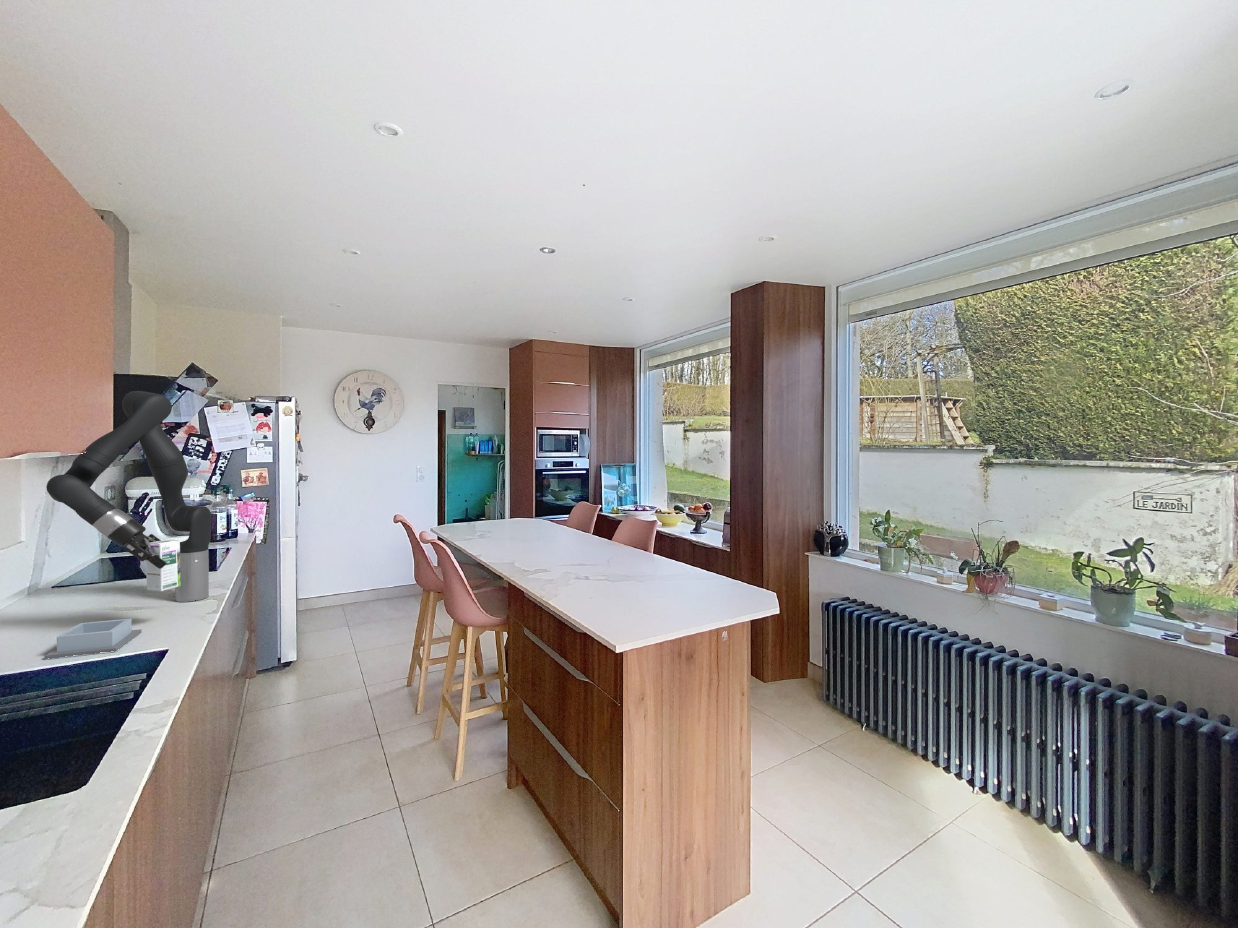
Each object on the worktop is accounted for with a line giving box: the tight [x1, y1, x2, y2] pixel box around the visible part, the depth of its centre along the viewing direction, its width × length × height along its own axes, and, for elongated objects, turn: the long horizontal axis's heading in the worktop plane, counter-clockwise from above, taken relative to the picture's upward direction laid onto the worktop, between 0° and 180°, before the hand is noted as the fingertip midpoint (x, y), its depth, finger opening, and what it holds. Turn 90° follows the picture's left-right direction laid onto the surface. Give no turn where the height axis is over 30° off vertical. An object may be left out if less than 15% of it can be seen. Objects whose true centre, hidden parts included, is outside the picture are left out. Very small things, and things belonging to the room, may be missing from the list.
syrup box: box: [145, 539, 181, 592], centre depth 157 cm, size 6×6×14 cm
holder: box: [43, 618, 142, 660], centre depth 141 cm, size 15×14×5 cm
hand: (169, 563), depth 157 cm, fingers closed on syrup box, 7 cm apart
